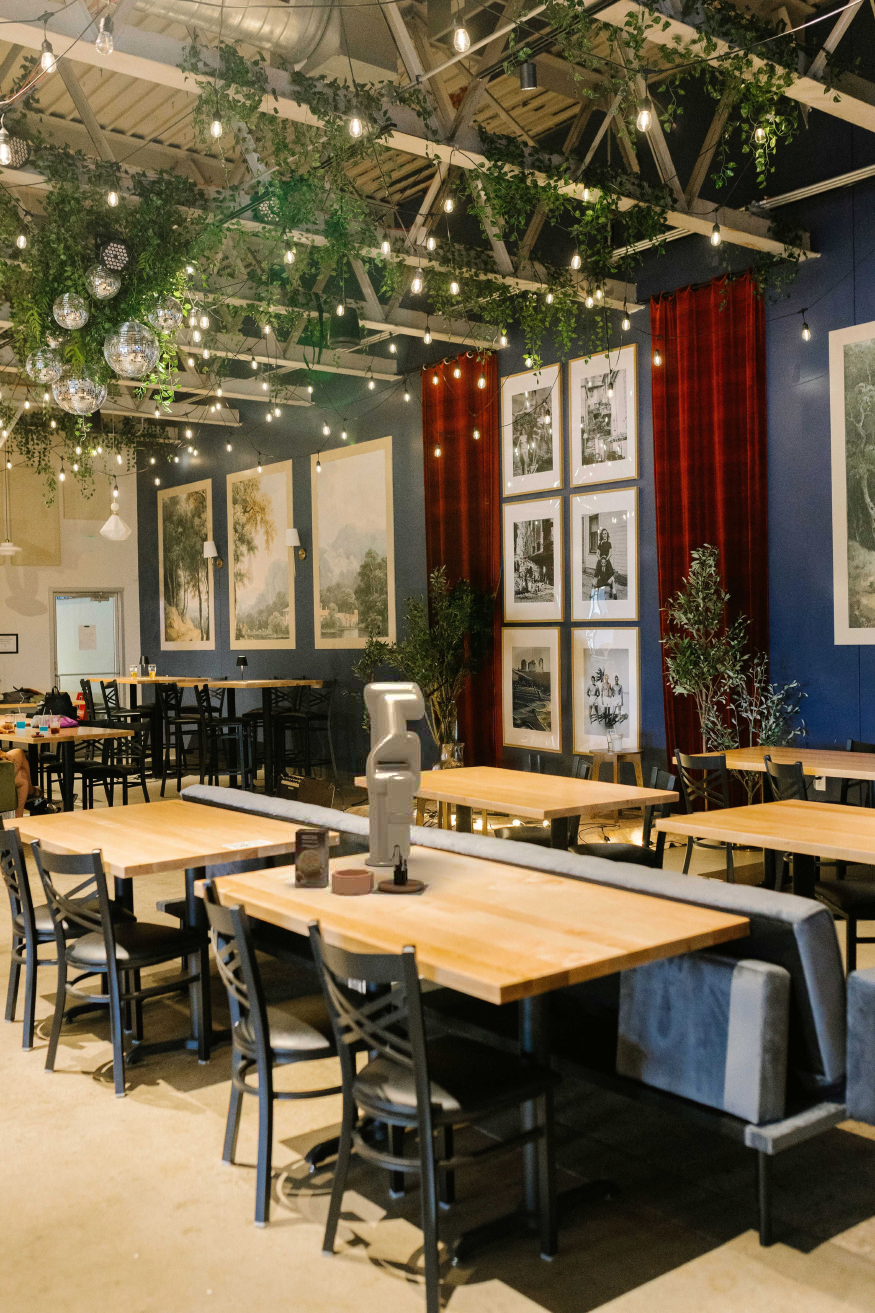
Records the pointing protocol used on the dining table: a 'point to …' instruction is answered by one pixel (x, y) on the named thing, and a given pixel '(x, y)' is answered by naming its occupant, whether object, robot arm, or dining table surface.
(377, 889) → the mat
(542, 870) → the dining table surface
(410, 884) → the lid
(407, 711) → the robot arm
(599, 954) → the dining table surface
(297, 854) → the coffee box
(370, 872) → the bowl
